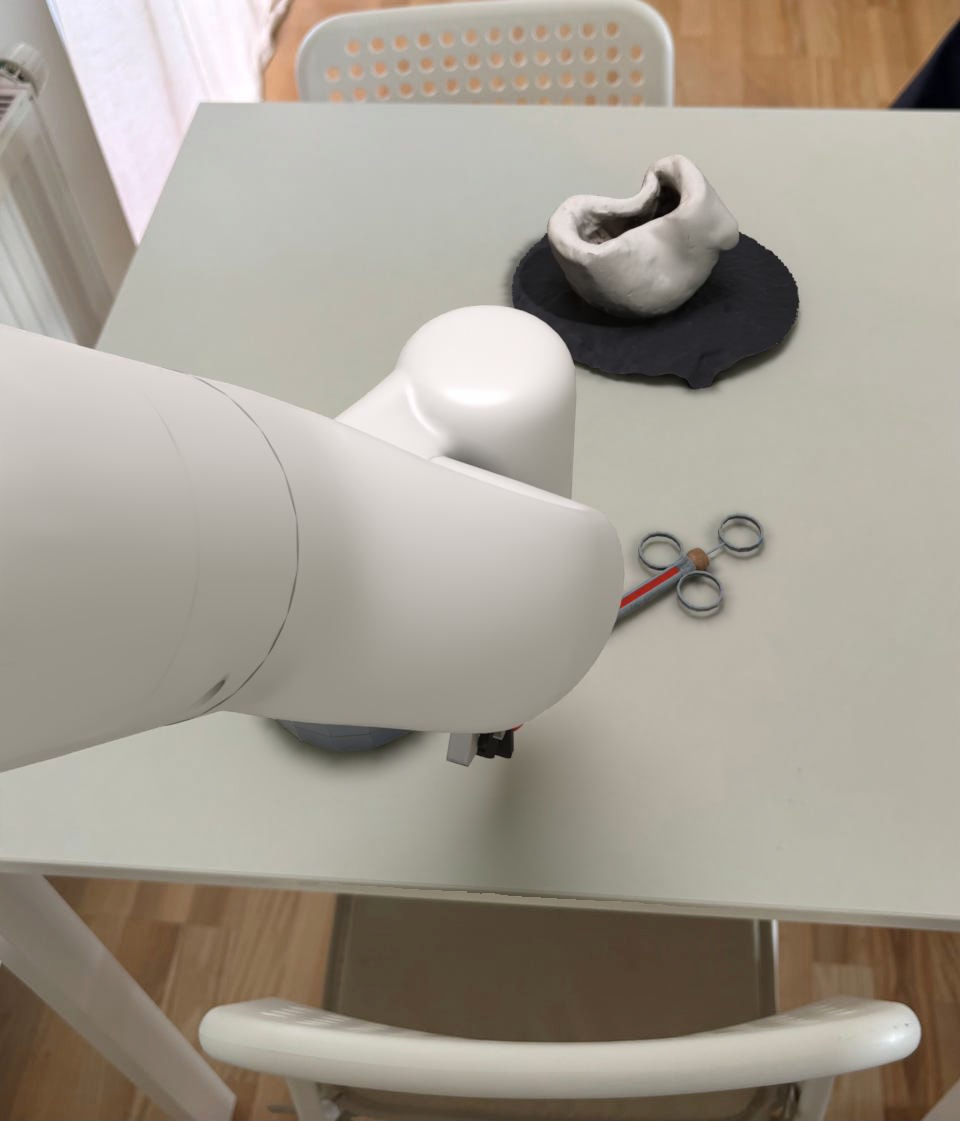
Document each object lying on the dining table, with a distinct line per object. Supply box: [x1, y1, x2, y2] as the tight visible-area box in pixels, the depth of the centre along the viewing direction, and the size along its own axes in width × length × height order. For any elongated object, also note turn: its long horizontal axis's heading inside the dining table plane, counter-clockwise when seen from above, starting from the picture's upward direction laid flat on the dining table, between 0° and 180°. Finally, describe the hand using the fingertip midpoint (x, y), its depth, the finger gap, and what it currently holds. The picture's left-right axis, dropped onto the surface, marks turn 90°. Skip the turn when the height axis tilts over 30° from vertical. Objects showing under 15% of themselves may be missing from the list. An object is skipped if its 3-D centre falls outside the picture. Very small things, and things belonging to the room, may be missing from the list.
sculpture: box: [510, 153, 801, 390], centre depth 94 cm, size 23×25×13 cm
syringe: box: [615, 513, 764, 623], centre depth 80 cm, size 8×18×2 cm, turn 124°
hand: (499, 714), depth 68 cm, fingers closed on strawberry, 3 cm apart
